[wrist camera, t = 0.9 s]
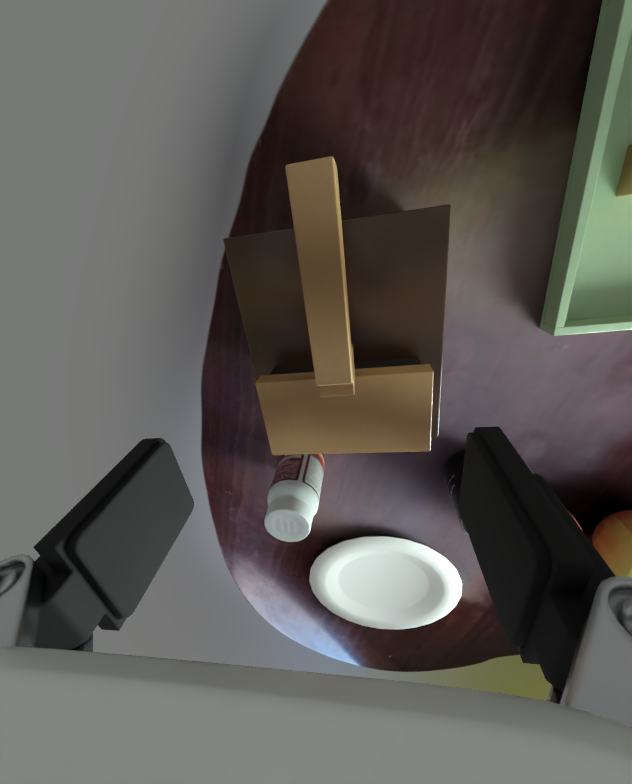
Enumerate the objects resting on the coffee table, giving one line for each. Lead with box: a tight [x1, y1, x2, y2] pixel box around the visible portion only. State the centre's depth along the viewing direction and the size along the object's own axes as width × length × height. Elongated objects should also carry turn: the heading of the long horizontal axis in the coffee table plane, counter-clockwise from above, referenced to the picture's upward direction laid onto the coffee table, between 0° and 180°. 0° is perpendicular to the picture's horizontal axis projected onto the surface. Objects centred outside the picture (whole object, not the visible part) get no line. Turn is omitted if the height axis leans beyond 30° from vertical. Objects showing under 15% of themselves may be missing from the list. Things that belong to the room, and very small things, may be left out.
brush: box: [255, 156, 434, 455], centre depth 17 cm, size 16×11×6 cm
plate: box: [309, 535, 462, 629], centre depth 52 cm, size 25×25×2 cm
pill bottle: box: [264, 454, 324, 542], centre depth 38 cm, size 6×6×11 cm
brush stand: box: [224, 204, 451, 437], centre depth 27 cm, size 15×13×14 cm
